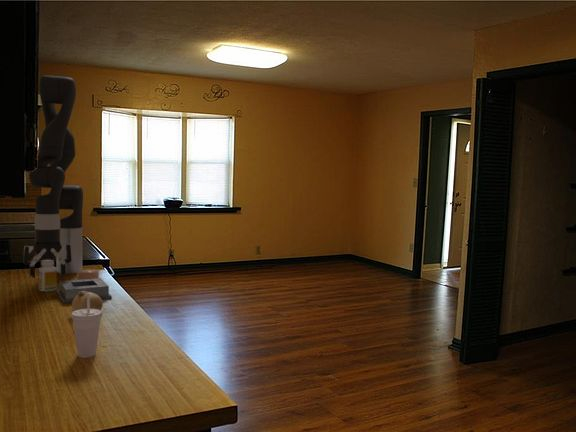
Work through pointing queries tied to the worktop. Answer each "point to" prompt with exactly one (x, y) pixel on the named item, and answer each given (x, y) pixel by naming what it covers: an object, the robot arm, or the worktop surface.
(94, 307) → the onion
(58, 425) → the worktop surface
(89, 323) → the smoothie
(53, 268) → the supplement bottle
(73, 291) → the collar socket
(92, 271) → the brown egg
